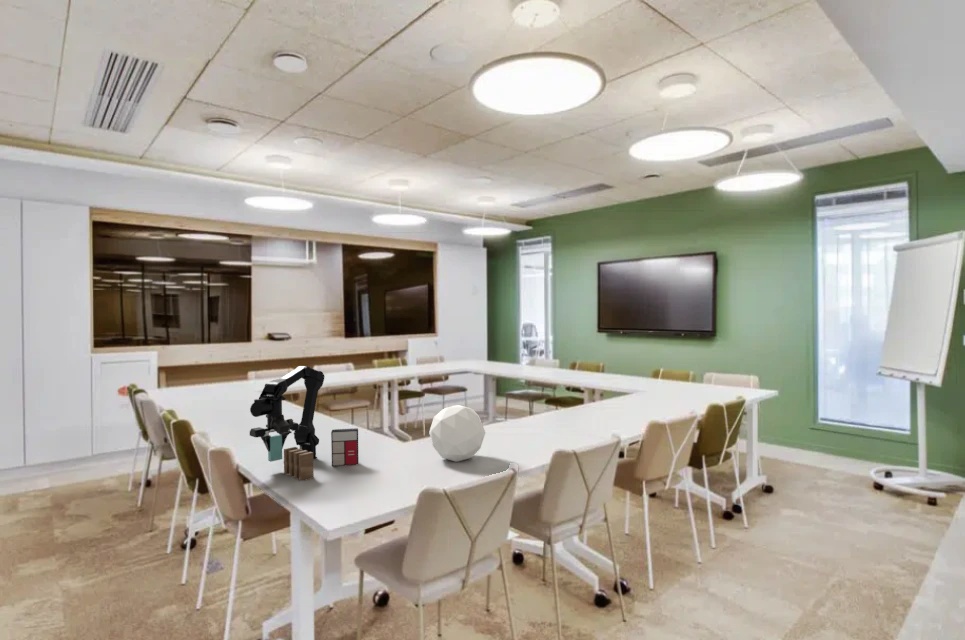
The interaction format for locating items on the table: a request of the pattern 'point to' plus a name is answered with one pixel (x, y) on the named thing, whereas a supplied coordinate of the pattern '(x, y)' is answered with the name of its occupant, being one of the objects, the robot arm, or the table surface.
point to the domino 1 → (275, 448)
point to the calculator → (344, 447)
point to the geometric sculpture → (457, 433)
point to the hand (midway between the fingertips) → (275, 450)
